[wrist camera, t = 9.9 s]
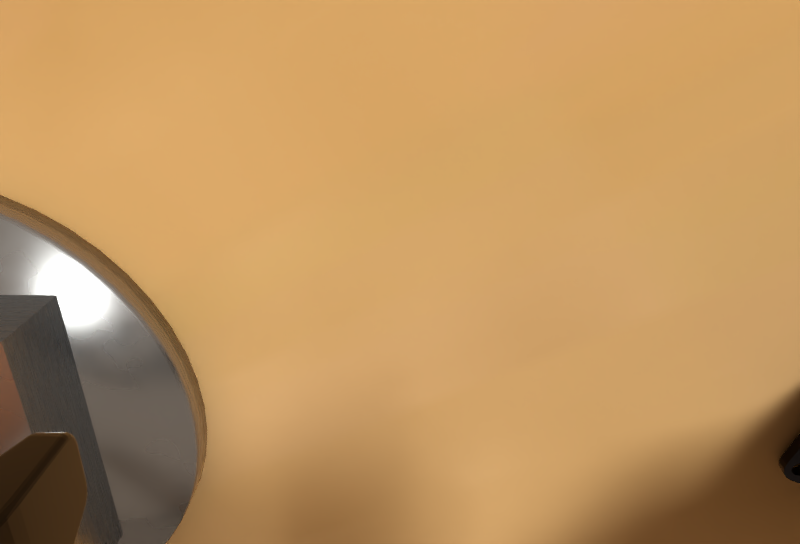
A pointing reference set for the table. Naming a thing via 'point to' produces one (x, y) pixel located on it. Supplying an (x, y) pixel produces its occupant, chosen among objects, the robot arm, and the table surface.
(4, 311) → the grey peg hole base
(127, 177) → the table surface
